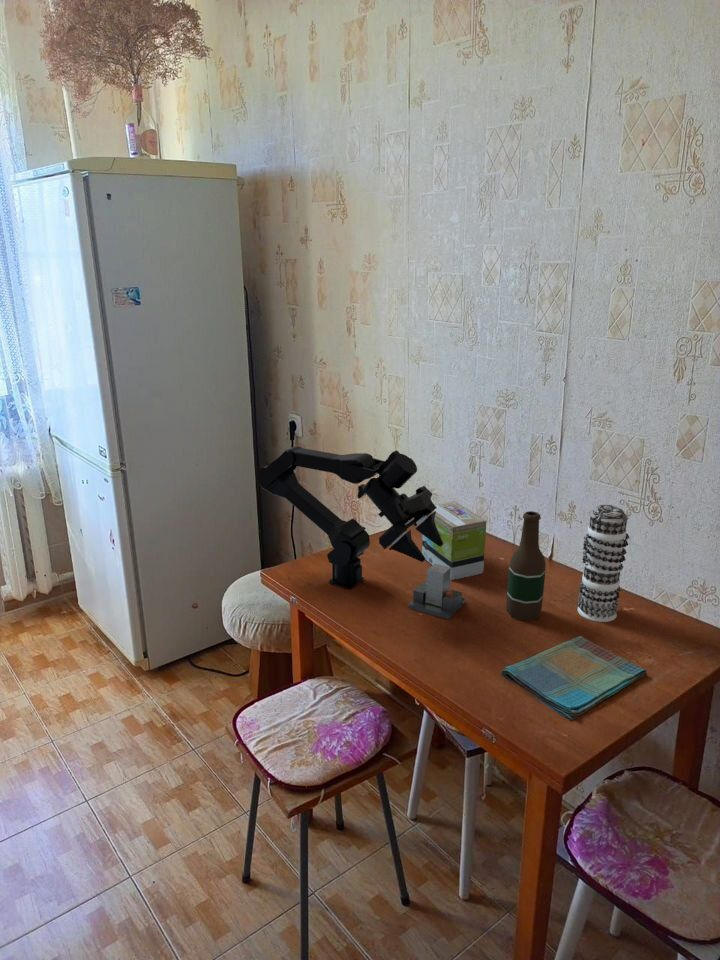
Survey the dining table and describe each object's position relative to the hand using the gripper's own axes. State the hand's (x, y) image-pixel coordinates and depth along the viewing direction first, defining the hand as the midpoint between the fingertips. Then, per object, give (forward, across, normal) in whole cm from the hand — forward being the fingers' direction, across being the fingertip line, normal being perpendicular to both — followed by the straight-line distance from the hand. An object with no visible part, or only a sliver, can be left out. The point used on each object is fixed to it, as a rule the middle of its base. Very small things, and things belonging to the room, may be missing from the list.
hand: (433, 552), depth 161 cm
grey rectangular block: (+10, 0, +9) cm, 13 cm away
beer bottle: (+23, +7, -3) cm, 24 cm away
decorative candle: (+34, +16, -12) cm, 39 cm away
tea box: (+6, +21, +13) cm, 26 cm away
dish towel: (+36, -12, -14) cm, 40 cm away
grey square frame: (+10, 0, +9) cm, 13 cm away
